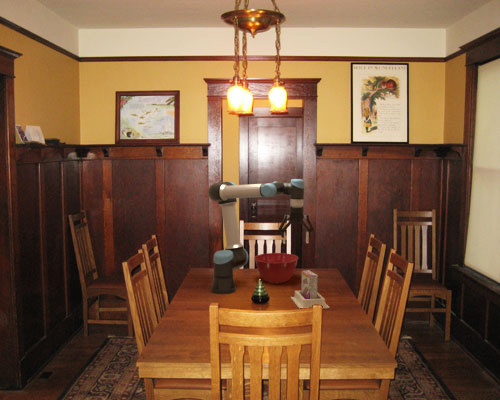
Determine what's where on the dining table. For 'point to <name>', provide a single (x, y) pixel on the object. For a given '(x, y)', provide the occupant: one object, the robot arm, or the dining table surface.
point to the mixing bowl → (276, 266)
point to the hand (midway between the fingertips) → (295, 243)
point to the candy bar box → (309, 285)
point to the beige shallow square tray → (308, 301)
